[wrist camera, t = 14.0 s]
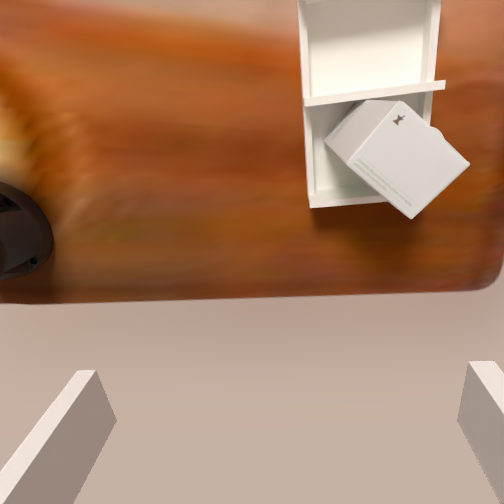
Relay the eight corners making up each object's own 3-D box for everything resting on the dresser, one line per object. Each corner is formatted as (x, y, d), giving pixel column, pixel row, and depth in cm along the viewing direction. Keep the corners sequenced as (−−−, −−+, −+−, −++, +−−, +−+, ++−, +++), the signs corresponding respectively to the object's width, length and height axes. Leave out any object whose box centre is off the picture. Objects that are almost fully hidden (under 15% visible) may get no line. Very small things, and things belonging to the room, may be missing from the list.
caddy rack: (307, 194, 46) (309, 208, 40) (296, -1, 37) (298, -17, 31) (414, 184, 44) (433, 197, 39) (431, -24, 35) (458, -46, 30)
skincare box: (321, 140, 42) (338, 163, 28) (360, 93, 39) (400, 93, 25) (370, 182, 43) (410, 224, 29) (410, 140, 41) (475, 164, 27)
